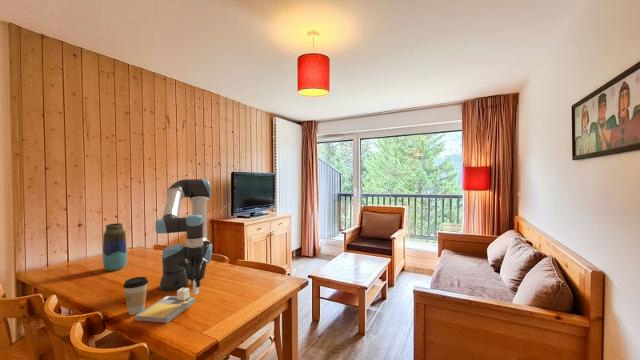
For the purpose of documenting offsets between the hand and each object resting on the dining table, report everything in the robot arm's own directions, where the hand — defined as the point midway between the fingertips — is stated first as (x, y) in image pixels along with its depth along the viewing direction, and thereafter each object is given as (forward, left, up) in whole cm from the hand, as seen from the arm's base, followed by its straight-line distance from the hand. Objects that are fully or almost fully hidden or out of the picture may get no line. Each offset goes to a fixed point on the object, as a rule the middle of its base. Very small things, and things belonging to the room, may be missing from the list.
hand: (195, 293), depth 135 cm
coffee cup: (-24, -10, -6) cm, 27 cm away
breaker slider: (-7, 0, -3) cm, 8 cm away
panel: (-10, -7, -6) cm, 14 cm away
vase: (-89, +41, -6) cm, 98 cm away
